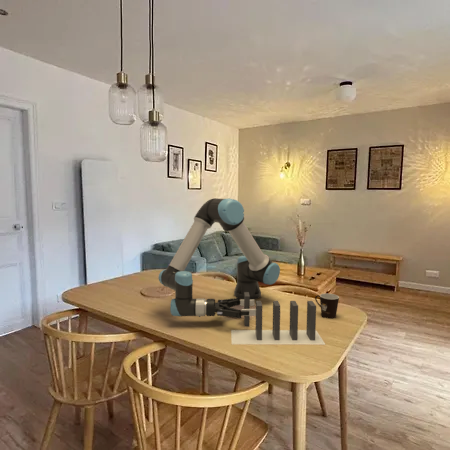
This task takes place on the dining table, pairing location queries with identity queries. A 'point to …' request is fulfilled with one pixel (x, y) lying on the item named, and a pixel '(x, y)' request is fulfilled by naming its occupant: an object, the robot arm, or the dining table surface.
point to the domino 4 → (293, 320)
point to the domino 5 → (311, 320)
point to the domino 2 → (258, 320)
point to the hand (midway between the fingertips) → (255, 307)
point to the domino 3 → (276, 320)
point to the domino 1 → (246, 306)
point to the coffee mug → (328, 305)
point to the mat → (268, 338)
